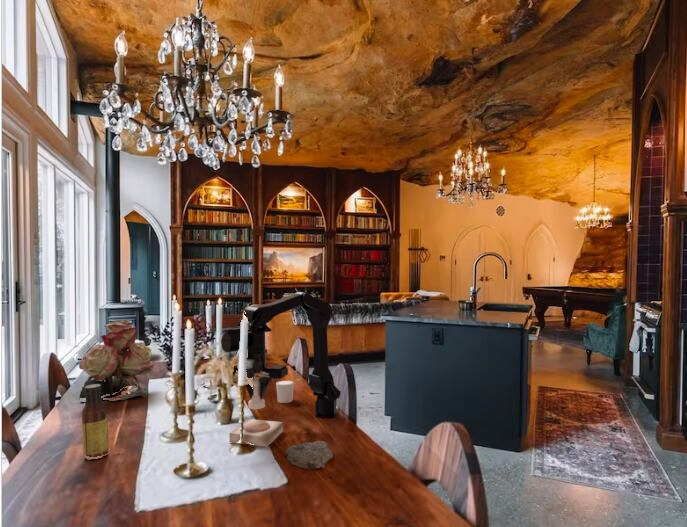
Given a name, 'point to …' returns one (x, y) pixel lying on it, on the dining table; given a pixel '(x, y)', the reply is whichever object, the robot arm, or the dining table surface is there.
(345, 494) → the dining table surface
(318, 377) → the robot arm
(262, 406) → the chess pawn
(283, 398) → the shot glass
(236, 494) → the dining table surface
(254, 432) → the plinth
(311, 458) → the stone slab
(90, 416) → the sauce bottle
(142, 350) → the rose bouquet
